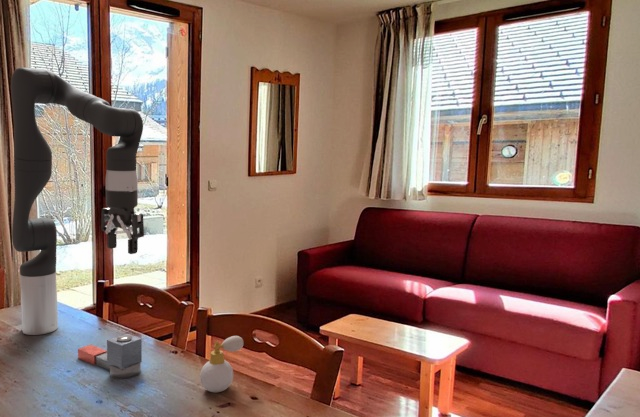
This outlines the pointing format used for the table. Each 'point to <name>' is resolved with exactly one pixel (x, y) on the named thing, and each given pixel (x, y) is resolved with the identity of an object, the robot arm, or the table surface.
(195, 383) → the table surface
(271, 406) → the table surface
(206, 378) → the perfume bottle
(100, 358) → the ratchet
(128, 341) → the cube with chrome knob
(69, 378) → the table surface
